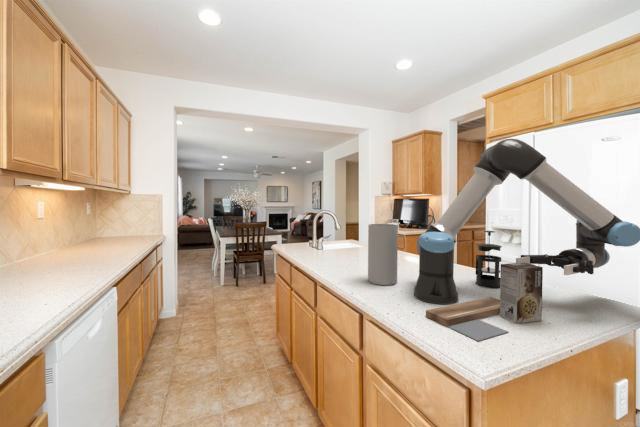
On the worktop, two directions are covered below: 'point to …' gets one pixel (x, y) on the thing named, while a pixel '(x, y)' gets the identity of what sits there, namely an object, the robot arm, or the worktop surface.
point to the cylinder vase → (382, 253)
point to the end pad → (478, 330)
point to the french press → (488, 280)
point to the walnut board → (465, 311)
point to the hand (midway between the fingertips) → (539, 266)
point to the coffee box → (521, 292)
